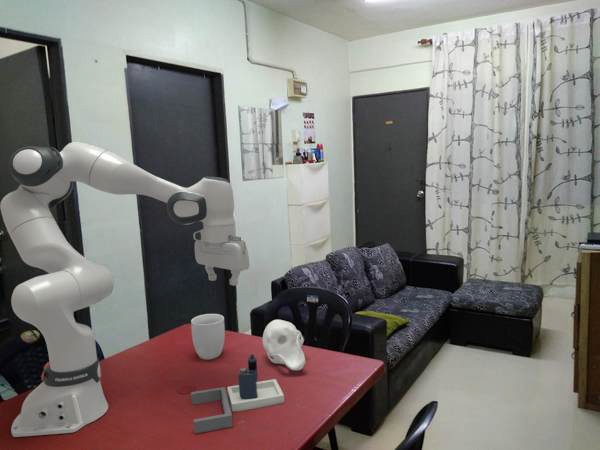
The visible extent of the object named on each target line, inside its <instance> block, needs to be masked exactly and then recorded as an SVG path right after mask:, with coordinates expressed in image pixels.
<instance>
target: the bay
mask: <svg viewBox="0 0 600 450" xmlns="http://www.w3.org/2000/svg"><path fill="white" fill-rule="evenodd" d="M190 398H191V405H192V406H193V405H198V404H204V403H211V402H217V401H221V403H222V408H223V412H224V413H223V414H217V415H213V416H212V415H211V416H205V417H201V418H193V431H194V435H197V434H200V433H206V432H211V431H217V430H221V429H227V428H232V427H233V415H232V409H231V405H230V401H229V397H228V393H227V390H226V387H225V386H222V387H216V388H211V389H210V388H209V389H205V390H204V389H203V390H197V391H191V392H190Z"/></svg>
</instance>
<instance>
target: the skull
mask: <svg viewBox="0 0 600 450" xmlns="http://www.w3.org/2000/svg"><path fill="white" fill-rule="evenodd" d="M304 341H305V338H304V337H303V335H302V332H301V331H300V330H298V329H297V328H296V326H295V325H294V324H293V323H292V322H290V321H286V320H282V319H274V320H272V321H270V322H269V323H268V324H267V325H266V326H265V329H264V331H263V334H262V347H263V349H264V350H265V351H266V355H267V357H268V359H269V360H270V362H271V363H273V364H276V365H277V364H278V365H279V364H280V365H285V366H286V367H287V368H288V369H290V370H291V371H301V370H302V369H303V368H304V366H305V364H306V357H305V354H304V352H303V349H302V346H303V344H304Z"/></svg>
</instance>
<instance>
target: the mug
mask: <svg viewBox="0 0 600 450" xmlns="http://www.w3.org/2000/svg"><path fill="white" fill-rule="evenodd" d="M190 325H191V338H192V343H193V347H194V350H195V352H196V354H197V355H198V357H199V358H200V359H202V360H207V361H208V360H214V359H217V358H219V357H220V355H221V354H222V352H223V350H224V345H225V338H226V337H225V336H226V331H225V317H224V316H223V315H222V314H219V313H205V314H200V315H197V316H195V317H193V318H192V319H191V320H190Z"/></svg>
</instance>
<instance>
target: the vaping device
mask: <svg viewBox="0 0 600 450" xmlns="http://www.w3.org/2000/svg"><path fill="white" fill-rule="evenodd" d="M257 363H258V361H257V357H256V356H255V355H254V354H250V355H249V357H248V358H247V366H248V368H247V367H241V368H240V369H239V372H238V385H239V393H240V397H241V399H255V398H257V397H258V395H257V382H258V378H259V376H258V365H257Z"/></svg>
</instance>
